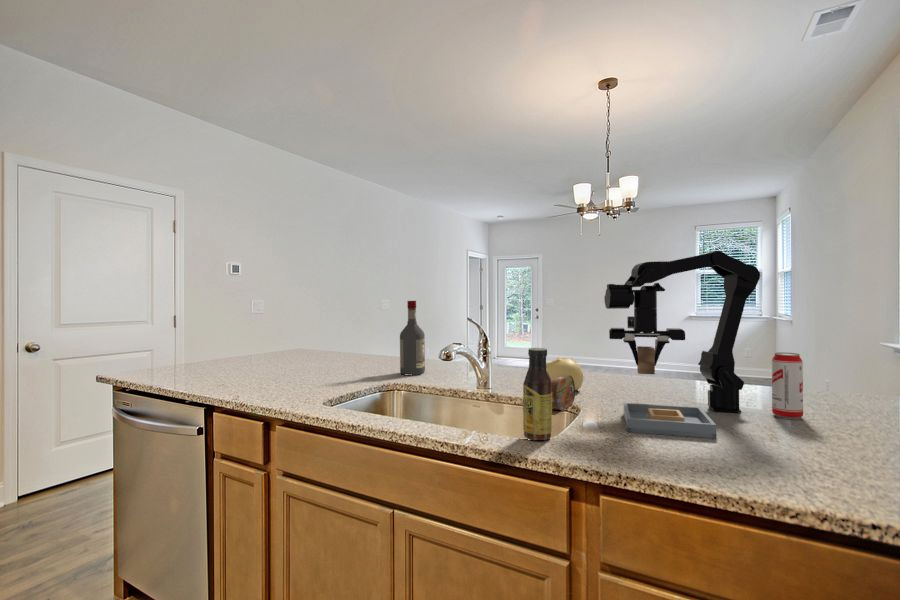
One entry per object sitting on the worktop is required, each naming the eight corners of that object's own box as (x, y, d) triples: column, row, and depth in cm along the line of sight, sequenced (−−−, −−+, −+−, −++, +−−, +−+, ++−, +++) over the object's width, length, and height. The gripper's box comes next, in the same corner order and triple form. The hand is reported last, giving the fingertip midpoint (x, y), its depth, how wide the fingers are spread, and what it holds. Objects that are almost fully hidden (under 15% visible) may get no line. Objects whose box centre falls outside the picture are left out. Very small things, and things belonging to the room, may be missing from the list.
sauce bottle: (520, 434, 102) (519, 347, 102) (547, 432, 103) (546, 346, 103) (527, 443, 96) (526, 350, 95) (556, 442, 96) (555, 349, 96)
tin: (558, 413, 120) (557, 382, 119) (547, 412, 121) (546, 381, 121) (576, 402, 132) (575, 373, 132) (565, 400, 134) (565, 372, 134)
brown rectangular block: (653, 371, 124) (652, 346, 124) (654, 374, 120) (654, 348, 120) (637, 371, 125) (637, 346, 125) (638, 373, 121) (638, 347, 121)
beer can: (797, 414, 115) (796, 352, 115) (807, 421, 109) (807, 355, 109) (768, 412, 117) (768, 351, 117) (777, 419, 111) (776, 354, 111)
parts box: (700, 419, 112) (700, 407, 112) (716, 438, 97) (716, 424, 97) (623, 414, 118) (623, 402, 118) (627, 431, 103) (627, 418, 103)
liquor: (399, 375, 181) (397, 301, 181) (405, 371, 190) (403, 300, 190) (421, 375, 179) (420, 300, 179) (426, 371, 188) (425, 300, 188)
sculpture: (569, 385, 156) (568, 354, 156) (590, 392, 145) (590, 359, 145) (540, 388, 153) (539, 356, 153) (559, 395, 141) (559, 361, 141)
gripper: (678, 307, 127) (679, 362, 127) (608, 307, 133) (609, 360, 133) (685, 308, 116) (685, 368, 117) (609, 308, 123) (609, 365, 123)
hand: (645, 365), depth 123 cm, fingers closed on brown rectangular block, 4 cm apart
